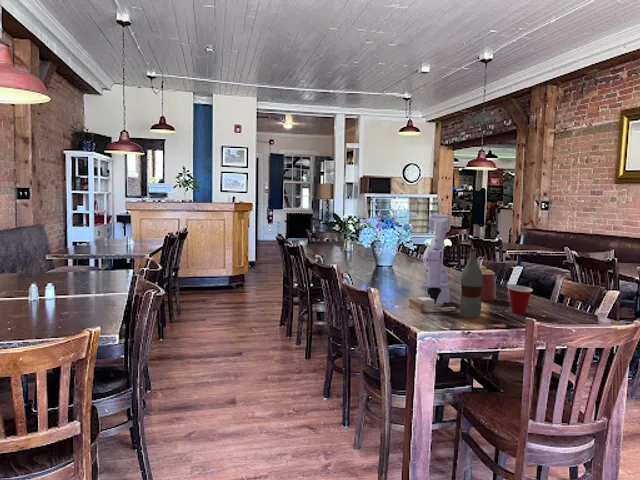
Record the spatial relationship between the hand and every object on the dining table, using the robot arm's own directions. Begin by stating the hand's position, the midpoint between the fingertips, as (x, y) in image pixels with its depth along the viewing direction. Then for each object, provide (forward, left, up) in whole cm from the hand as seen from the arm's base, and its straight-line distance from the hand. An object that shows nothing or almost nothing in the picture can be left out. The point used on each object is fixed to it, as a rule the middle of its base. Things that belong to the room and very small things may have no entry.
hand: (433, 303), depth 222 cm
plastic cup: (-35, +16, -3) cm, 39 cm away
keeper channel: (+1, 0, -2) cm, 3 cm away
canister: (-37, -14, -3) cm, 40 cm away
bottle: (-9, +16, -3) cm, 19 cm away
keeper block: (+4, 0, -2) cm, 5 cm away
